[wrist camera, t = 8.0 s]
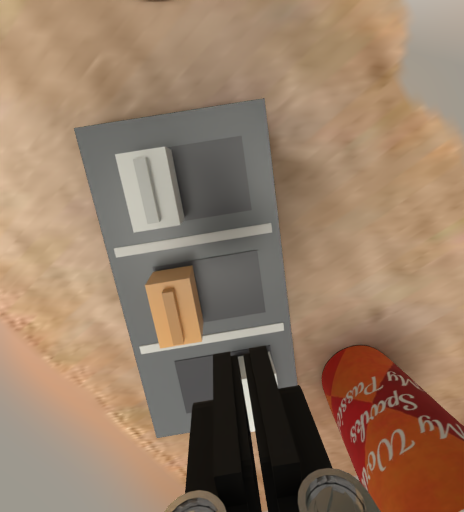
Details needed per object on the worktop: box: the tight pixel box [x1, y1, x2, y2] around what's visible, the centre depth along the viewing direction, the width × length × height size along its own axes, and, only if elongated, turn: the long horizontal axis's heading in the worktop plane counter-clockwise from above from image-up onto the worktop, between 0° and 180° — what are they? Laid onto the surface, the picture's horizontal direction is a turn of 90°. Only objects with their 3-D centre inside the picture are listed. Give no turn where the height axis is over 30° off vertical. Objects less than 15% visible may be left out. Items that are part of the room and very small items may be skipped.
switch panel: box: [74, 98, 297, 438], centre depth 22 cm, size 22×11×3 cm, turn 9°
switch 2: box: [145, 265, 203, 349], centre depth 19 cm, size 4×2×3 cm, turn 9°
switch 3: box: [238, 352, 278, 432], centre depth 21 cm, size 4×2×3 cm, turn 9°
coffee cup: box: [322, 345, 464, 512], centre depth 20 cm, size 8×8×15 cm
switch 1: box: [115, 147, 185, 233], centre depth 17 cm, size 4×2×3 cm, turn 9°
